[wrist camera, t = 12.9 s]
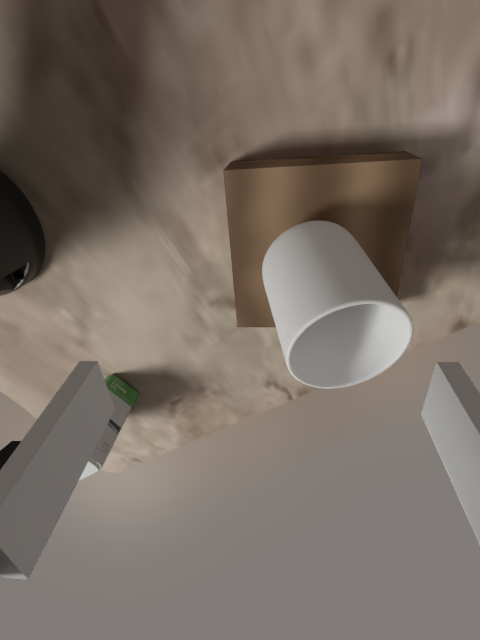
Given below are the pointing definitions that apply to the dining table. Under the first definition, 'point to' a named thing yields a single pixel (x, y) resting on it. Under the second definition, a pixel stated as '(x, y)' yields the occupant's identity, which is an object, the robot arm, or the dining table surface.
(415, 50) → the dining table surface
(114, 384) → the ink box
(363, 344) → the mug
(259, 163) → the walnut block
